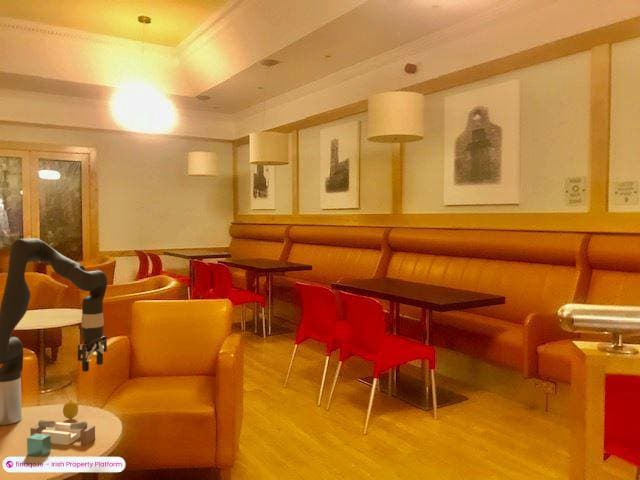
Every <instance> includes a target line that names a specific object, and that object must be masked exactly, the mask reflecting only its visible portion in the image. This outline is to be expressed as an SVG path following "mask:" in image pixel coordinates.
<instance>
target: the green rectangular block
mask: <svg viewBox="0 0 640 480" xmlns="http://www.w3.org/2000/svg"><path fill="white" fill-rule="evenodd" d="M51 444H52V443H51V440H50V435H45V434H37V433H35V434H34V435H32V436H31V435H30V436H28V437H27V438H26V452H27V453H26V454H27V456H32V457H33V456H34V457H39V456H41V458H42V457H45V456H46V455H48V454H49V453H51V452H52V450H51V448H52V447H51Z"/></svg>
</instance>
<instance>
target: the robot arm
mask: <svg viewBox="0 0 640 480" xmlns="http://www.w3.org/2000/svg"><path fill="white" fill-rule="evenodd" d="M9 250H10V252H9V259H8V260H9V261H8V268H7V269H8V270H7V276H6V280H5V287H4V290H3V294H2V298H1V303H0V365H1V366H0V426H9V425H12V424H15V423H18V422H20V421H21V420H22V417H23V416H22V413H23V412H22V407H23V406H22V371H23V369H24V346H23V343H22V340H20V339H19V337H16V336H12V333H13V332H14V329H15V328H16V327H17V326H18V324H19V323H20V322H21V320H22V319H23V318H24V316H25V315H26V313H27V312H28V308H29V303H30V300H31V290H30V287H29V285H28V283H27V281H26V277H25V275H26V268H27V264H28V263H35V262H41V263H44V264H48V265H49V266H51V269H52V270H53V271H54V272H55V274H57V275H58V276H60V277H62V278H64V279H66V280H69V281H70V282H71V283H72V284H73V285H74V286H75V287H76V288H78V290H81V291H84V292H89V293H88V295H87V296H85V297H84V298H83V299H82V301H81V304H82V305H81V307H82V309H81V338H82V339H83V340H84V342H83V343H82V344H80V343H79V344H78V345H77V361H78V362H81V369H82V370H81V371H82V372H89V371H90V361H89V360H90V358H91V357H92V356H93V354H94V353H96V365H98V366H99V365H100V366H101V365H103V364H104V355H105V352H107V351H108V342H107V341H108V340H107V336H105V334H104V332H105V331H104V329H105V327H104V325H105V324H104V320H105V319H104V298H105V295H106V291H107V287H108V277H107V275H106V273H105V272H104V271H102V270H99V269H96V270H89V271H86V267H85V266H84V265H82V264H81V263H79V262H77V261H75V260H72V259H71V258H69V257H67V256H65V255H64V254H62V253H60V252H59V251H57V250H56V249H54V248H53V247H52V246H50V245H49V244H48V243H46V242H45V241H43V240H42V239H40V238H36V237H35V238H34V237H29V238H25V237H24V238H19V239H16V240H15V241H14V242H12V244H11V247H10V249H9Z"/></svg>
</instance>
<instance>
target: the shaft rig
mask: <svg viewBox="0 0 640 480" xmlns="http://www.w3.org/2000/svg"><path fill="white" fill-rule="evenodd" d="M47 428H52V429H51V430H49V429H47ZM53 428H54V429H53ZM29 431H30V436H32V435H34V434H35V433H37V434H45V435H50V440H51V444H54V445H63V446H69V445H71V444H73V443H74V442H75V441H78V440H79V439H80V445H84V446H85V445H86V446H87V445H88V444H90V443H91V442H93V441H94V440H96V425H92V424H89V425H88V421H86V420H85V421H79V422H78V421H76V422H72V423H71V422H70V423H69V422H61V421H60V422H59V421H57V422H56V421H55V420H48V419H39V420H38V423H37V424H35V425H34V426H32V427H30V430H29Z"/></svg>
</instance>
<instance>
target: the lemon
mask: <svg viewBox="0 0 640 480" xmlns="http://www.w3.org/2000/svg"><path fill="white" fill-rule="evenodd" d="M78 412H79V405H78V403H77V402H76V401H75V400H72V399H70V400H68V401H67V402H65V404H63V409H62V413H63V416H64V417H65V419H69V420H70V419H71V420H72V419H74V418H75V417H76V416H78Z"/></svg>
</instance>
